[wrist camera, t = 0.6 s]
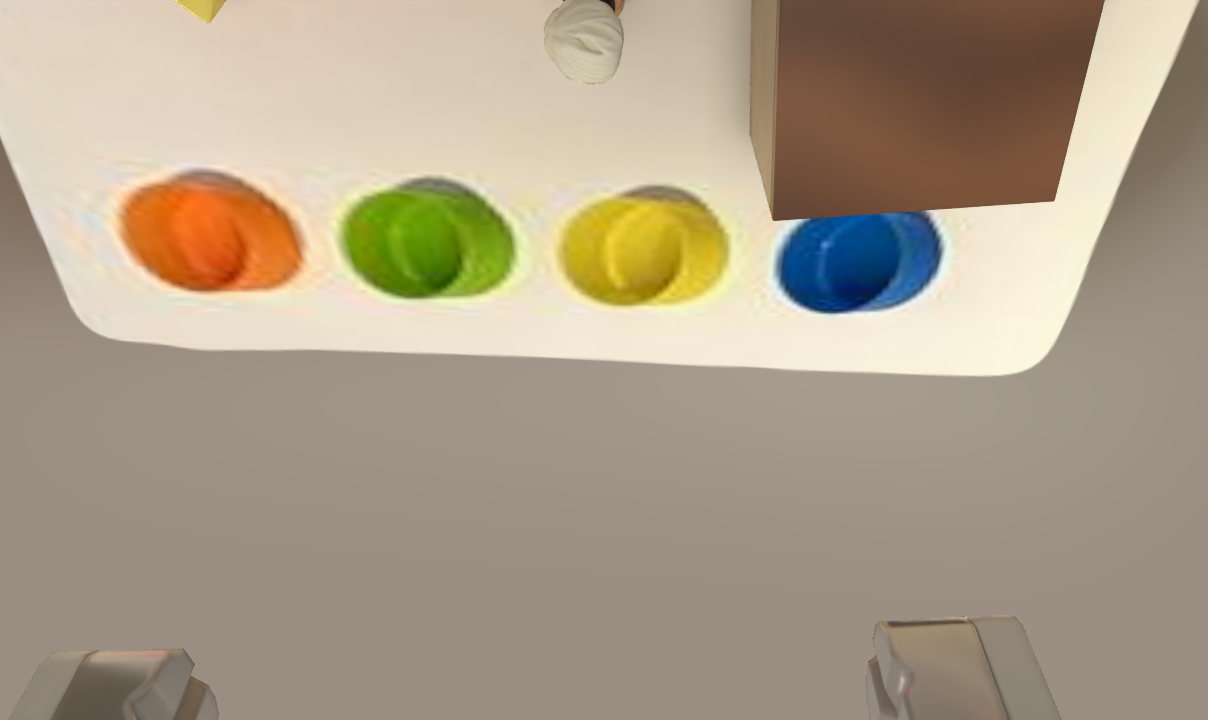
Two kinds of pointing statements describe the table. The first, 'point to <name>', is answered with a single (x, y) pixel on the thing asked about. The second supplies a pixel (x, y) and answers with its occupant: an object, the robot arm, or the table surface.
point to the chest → (763, 86)
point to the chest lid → (924, 103)
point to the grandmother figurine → (585, 39)
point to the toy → (202, 8)
